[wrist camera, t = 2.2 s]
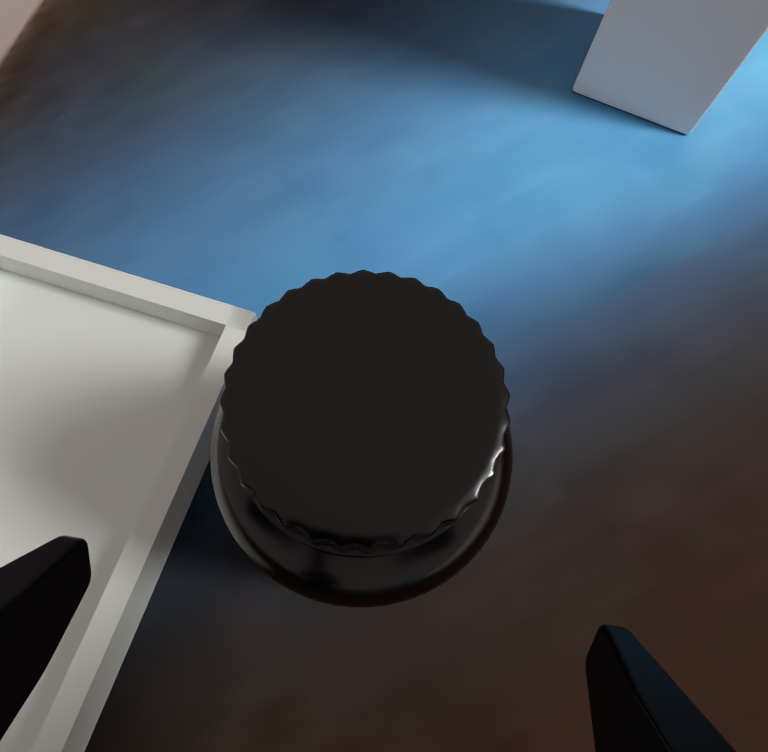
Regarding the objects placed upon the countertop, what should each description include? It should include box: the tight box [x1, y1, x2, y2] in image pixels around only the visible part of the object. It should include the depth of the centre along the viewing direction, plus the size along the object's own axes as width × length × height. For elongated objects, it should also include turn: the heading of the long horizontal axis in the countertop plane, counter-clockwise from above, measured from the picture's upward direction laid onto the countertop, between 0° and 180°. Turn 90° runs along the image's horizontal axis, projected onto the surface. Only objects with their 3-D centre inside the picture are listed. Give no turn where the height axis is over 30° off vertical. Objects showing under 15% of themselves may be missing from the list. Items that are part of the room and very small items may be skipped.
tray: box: [0, 234, 258, 752], centre depth 19 cm, size 18×12×2 cm, turn 163°
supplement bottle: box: [210, 270, 513, 607], centre depth 15 cm, size 7×7×12 cm
